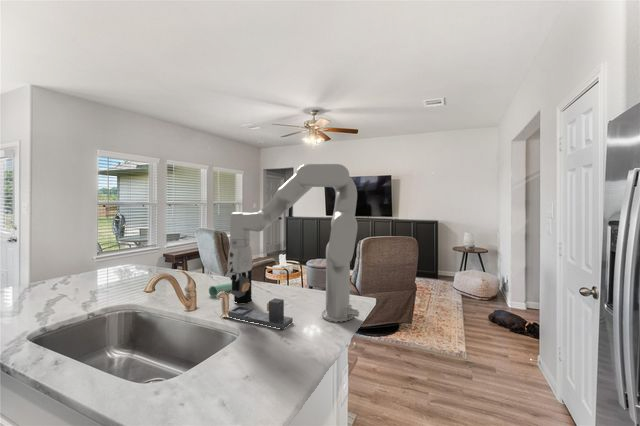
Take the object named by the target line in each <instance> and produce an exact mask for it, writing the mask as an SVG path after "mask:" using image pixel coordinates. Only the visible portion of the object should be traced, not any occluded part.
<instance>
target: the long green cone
mask: <svg viewBox="0 0 640 426" xmlns="http://www.w3.org/2000/svg"><path fill="white" fill-rule="evenodd" d="M231 290H232V282H228V283H220V284H215V285H211V286H209V288H208V293H209V295H210V297H213V298H214V297H215V298H216V295H217V294H218V293H219V292H220V291H228V292H231Z"/></svg>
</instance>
